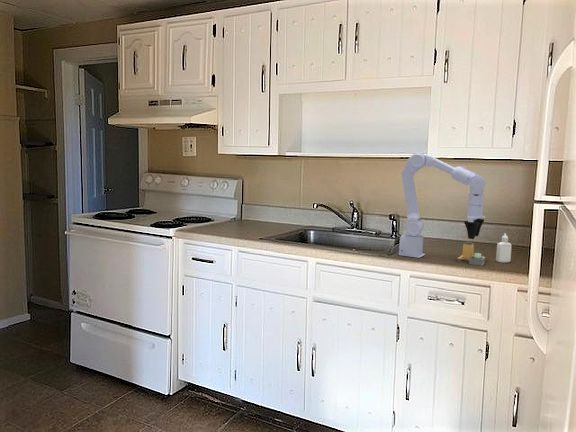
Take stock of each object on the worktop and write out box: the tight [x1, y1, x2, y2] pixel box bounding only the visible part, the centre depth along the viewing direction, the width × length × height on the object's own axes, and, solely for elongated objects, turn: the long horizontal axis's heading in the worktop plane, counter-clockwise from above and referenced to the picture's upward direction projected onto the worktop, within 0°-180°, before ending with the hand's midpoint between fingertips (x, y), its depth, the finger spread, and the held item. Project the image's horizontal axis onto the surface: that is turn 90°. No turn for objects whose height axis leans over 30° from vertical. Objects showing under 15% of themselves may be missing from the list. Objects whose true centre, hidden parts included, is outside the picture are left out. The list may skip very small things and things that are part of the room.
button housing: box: [468, 256, 486, 266], centre depth 194 cm, size 5×5×2 cm
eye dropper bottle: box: [495, 232, 512, 264], centre depth 198 cm, size 4×6×12 cm
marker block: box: [461, 241, 475, 258], centre depth 202 cm, size 4×4×6 cm
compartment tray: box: [456, 253, 487, 262], centre depth 203 cm, size 10×10×1 cm
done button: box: [473, 252, 482, 259], centre depth 194 cm, size 3×3×3 cm
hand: (473, 237), depth 198 cm, fingers open, 7 cm apart
